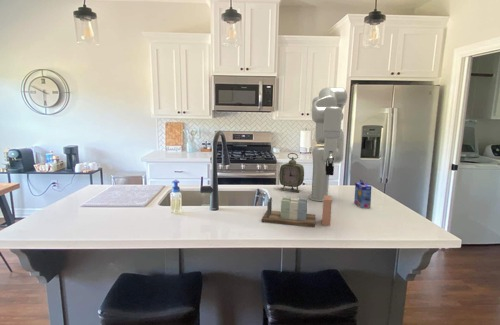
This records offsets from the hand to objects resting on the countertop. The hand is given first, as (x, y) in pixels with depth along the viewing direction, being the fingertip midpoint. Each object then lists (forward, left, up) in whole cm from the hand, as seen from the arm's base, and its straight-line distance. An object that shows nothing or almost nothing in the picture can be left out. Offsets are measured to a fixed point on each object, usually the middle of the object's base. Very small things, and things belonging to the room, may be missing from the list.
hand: (329, 173), depth 133 cm
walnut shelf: (+1, -17, -24) cm, 29 cm away
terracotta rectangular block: (0, 0, -24) cm, 24 cm away
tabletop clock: (-55, -21, -24) cm, 64 cm away
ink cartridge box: (-33, +20, -24) cm, 45 cm away
